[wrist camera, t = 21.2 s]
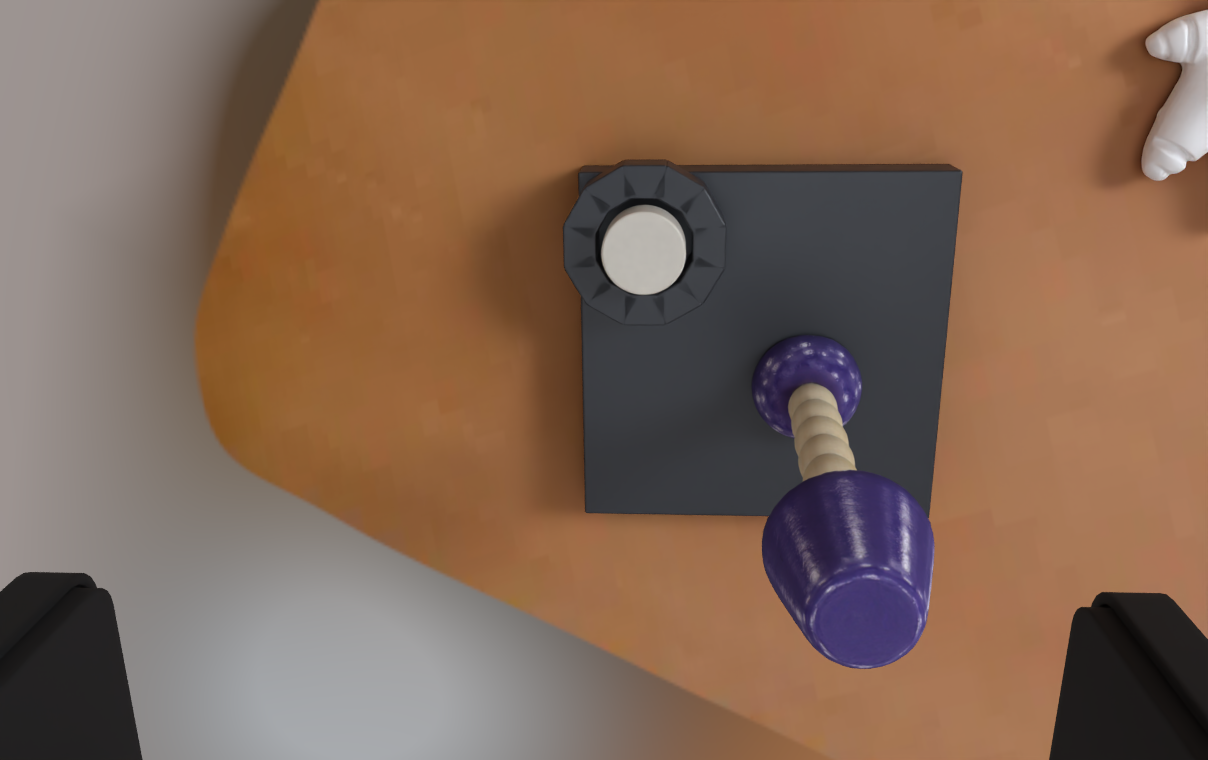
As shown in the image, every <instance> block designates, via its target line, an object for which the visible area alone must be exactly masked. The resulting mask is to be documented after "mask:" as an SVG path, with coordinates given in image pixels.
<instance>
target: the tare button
mask: <svg viewBox="0 0 1208 760" xmlns="http://www.w3.org/2000/svg"><path fill="white" fill-rule="evenodd" d="M601 258H602V263H603V267H604V269H605V271H606V273H607V275H608V276H609V278H610V279H611V280H612V281H613V283H615V284H616V285H617V286H618V287H620V288H621V289H623V290H625V291H627V292H630V293H633V294H638V295H650V294H655V293H658V292H661V291H663V290H665V289H666V288H668V287H669V286H671V285H672V284H673V283H674V282H675V281H676V280H677V278H678V277H679V276H680V274H681V272H682V270H683V268H684V265H685V260H686V241H685V235H684V232H683V230H682V228H681V225H680V224H679V222H678V221H677V220H676V219H675V218H674V216H672V215H671V214H670V213H669V212H667V211H666V210H664V209H662V208H659V207H656V206H652V205H637V206H633V207H630V208H628V209H626V210H624V211H622V212H621V213H619V214H618V215H617V216H616V217H615V218H614V219H613V220H612V221H611V223H610V224H609V226H608V228H607V230H606V233H605V236H604V240H603V243H602V248H601Z"/></svg>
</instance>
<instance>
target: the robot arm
mask: <svg viewBox="0 0 1208 760" xmlns="http://www.w3.org/2000/svg"><path fill="white" fill-rule="evenodd" d="M0 760H142V755H141V750H140V745H139V739H138V734H137V728H136V724H135V718H134V713H133V707H132V702H131V696H130V691H129V685H128V680H127V675H126V670H125V664H124V659H123V653H122V648H121V643H120V637H119V632H118V627H117V621H116V616H115V610H114V605H113V601H112V598H111V596H110V594H109V593H108V591H107V590H105V589H103V588H97V587H96V584H95V582H94V581H93V579H92V578H91V577H90V576H88V575H87V574H85V573H49V572H46V573H45V572H28V573H23V574H21V575H20V576H18V577H16V578H15V579H14V580H13V581H12V582H11V583H10V584H8V585H7V586H6V587H5V588H4V589H3V590H2V591H1V592H0ZM1049 760H1208V639H1207V638H1206V637H1205V636H1204V635H1203V634H1202V632H1201V631H1200V630H1199V629H1198V628H1197V627H1196V625H1195V624H1194V623H1193V622H1192V621H1191V620H1190V619H1189V617H1188V616H1187V615H1186V614H1185V613H1184V612H1183V611H1182V609H1181V608H1180V607H1179V606H1178V605H1177V604H1176V603H1175V601H1174V600H1173V599H1171V598H1170V597H1169V596H1168V595H1166V594H1161V593H1118V592H1102V593H1100V594H1098V595H1097V596H1096V597H1095V599H1094V601H1093V603H1092V606H1091V607H1080V608H1079V609H1077V611H1076V612H1075V614H1074V617H1073V621H1072V625H1071V631H1070V637H1069V643H1068V649H1067V655H1066V662H1065V668H1064V674H1063V680H1062V686H1061V692H1060V698H1059V704H1058V710H1057V716H1056V722H1055V728H1054V734H1053V740H1052V746H1051V752H1050V758H1049Z"/></svg>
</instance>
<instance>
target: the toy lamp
mask: <svg viewBox="0 0 1208 760" xmlns="http://www.w3.org/2000/svg"><path fill="white" fill-rule="evenodd" d="M861 393H862V379H861V373H860V370H859V367H858V365H857V363H856V361H855V360H854V357H853V356H852V355H851V354H850V352H849V351H848V350H847V349H846V348H845V347H843V346H842V345H840V344H839V343H838V342H836V341H834V340H832V339H829V338H826V337H823V336H812V335H799V336H796V337H792V338H787V339H785V340H783V341H781V342H779V343H777V344H776V345H774V346H773V347H772V348H771V349H769V350H768V351H767V352H766V353H765V355H764V356H763V357H762V358H761V360H760V361H759V363H758V365H757V366H756V368H755V371H754V374H753V378H752V396H753V400H754V403H755V407H756V409H757V411H758V413H759V414H760V416H761V417H762V419H763V420H764V421H765V422H766V423H767V424H768V425H769V426H770V427H771V428H773V429H774V430H776V431H777V432H779V433H781V434H783V435H785V436H788V437H791V438H794V442H795V450H796V453H797V455H798V457H799V458H798V465H799V469H800V473H801V475H802V477H803V482H801V483H800V484H798V485H797V486H796V487H794V488H793V489H791V490H790V491H789V492H788V493H787V494H785V495H784V496H783V497H782V498H781V500H780V501H779V502H778V503H777V505H776V506H775V507H774V509H773V510H772V512H771V514H770V515H769V517H768V519H767V522H766V524H765V527H764V531H763V538H762V557H763V563H764V568H765V571H766V574H767V576H768V578H769V581H770V583H771V584H772V587H773V588H774V590H775V592H776V593H777V595H778V597H779V598H780V600H781V602H782V603H783V604H784V606H785V607H786V609H787V610H788V612H789V613H790V615H791V616H792V618H793V620H794V621H795V623H796V624H797V625H798V627H799V628H800V630H801V631H802V633H803V634H804V636H805V637H806V639H807V640H808V641H809V642H810V643H811V645H812V646H813V647H814V648H815V649H816V650H817V651H818V652H820V653H821V654H822V655H823V656H825V657H826V658H827V659H829V660H831V661H833V662H836V663H838V664H840V665H843V666H846V667H850V668H859V669H871V668H876V667H881V666H885V665H887V664H890V663H892V662H895V661H896V660H898V659H900V658H901V657H903V656H904V655H906V654H907V653H908V652H909V651H910V650H911V649H912V648H913V647H914V646H915V645H916V643H917V641H918V640H919V638H920V637H921V635H922V633H923V630H924V628H925V625H926V621H927V616H928V609H929V601H930V593H931V583H932V575H933V564H934V538H933V532H932V529H931V525H930V521H929V519H928V518H927V515H926V513H925V512H924V510H923V508H922V507H921V506H920V505H919V503H918V502H917V500H916V499H915V498H914V497H913V496H912V495H911V494H910V493H909V492H908V491H907V490H906V489H905V488H903V487H902V486H900V485H899V484H897V483H895V482H894V481H892V480H891V479H889V478H886V477H883V476H881V475H878V474H874V473H871V472H867V471H862V470H857V469H856V468H855V460H854V456H853V453H852V451H851V449H850V447H849V442H848V437H847V434H846V432H845V430H844V428H843V426H844V425H845V424H846V423H847V422H848V421H849V420H850V419H851V417H852V416H853V414H854V413H855V411H856V409H857V406H858V404H859V402H860V398H861Z"/></svg>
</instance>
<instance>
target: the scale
mask: <svg viewBox="0 0 1208 760" xmlns="http://www.w3.org/2000/svg"><path fill="white" fill-rule="evenodd" d="M961 183H962V171H961V170H959V169H957V168H956V167H954V166H952V165H950V164H833V165H675V164H674V163H672V162H670V161H668V160H624V161H621V162H619V163H618V164H616V165H611V166H583V167H582V168H581V170H580V171H579V173H578V185H579V197H578V199H577V201H576V203H575V205H574V206H573V208H572V210H571V212H570V214H569V215H568V217H567V219H566V221H565V223H564V226H563V248H564V268H565V271H566V272H567V274H568V276H569V277H570V279H571V281H572V282H573V284H574V286H575V287H576V289H577V290H578V292H579V294H580V295H581V332H582V381H583V429H584V478H585V512H586V513H616V514H675V515H735V516H769V515H770V514H771V512H772V510H773V509H774V507H775V506H776V505H777V503H778V502H779V501H780V500H781V498H782V497H783V496H784V495H785V494H787V493H788V492H789V491H790V490H791V489H793V488H794V487H796V486H797V485H798V484H800V483H801V482H803V477H802V475H801V473H800V469H799V465H798V458H799V457H798V455H797V453H796V450H795V442H794V438H791V437H788V436H785V435H783V434H781V433H779V432H777V431H776V430H774V429H773V428H771V427H770V426H769V425H768V424H767V423H766V422H765V421H764V420H763V419H762V417H761V416H760V414H759V413H758V411H757V409H756V407H755V403H754V400H753V396H752V378H753V374H754V371H755V368H756V366H757V365H758V363H759V361H760V360H761V358H762V357H763V356H764V355H765V353H766V352H767V351H768V350H769V349H771V348H772V347H773V346H774V345H776V344H777V343H779V342H781V341H783V340H785V339H787V338H792V337H796V336H799V335H812V336H823V337H826V338H829V339H832V340H834V341H836V342H838V343H839V344H840V345H842V346H843V347H845V348H846V349H847V350H848V351H849V352H850V354H851V355H852V356H853V357H854V360H855V361H856V363H857V365H858V367H859V370H860V373H861V379H862V393H861V398H860V402H859V404H858V406H857V409H856V411H855V413H854V414H853V416H852V417H851V419H850V420H849V421H848V422H847V423H846V424H845V425H844V426H843V428H844V430H845V432H846V434H847V437H848V442H849V447H850V449H851V451H852V453H853V456H854V460H855V468H856V469H857V470H862V471H867V472H871V473H874V474H878V475H881V476H883V477H886V478H889V479H891V480H892V481H894V482H895V483H897V484H899V485H900V486H902V487H903V488H905V489H906V490H907V491H908V492H909V493H910V494H911V495H912V496H913V497H914V498H915V499H916V500H917V502H918V503H919V505H920V506H921V507H922V508H923V510H924V512H925V513H926V515H927V518H929V512H930V502H931V492H932V482H933V471H934V461H935V451H936V440H937V430H938V420H939V409H940V399H941V389H942V379H943V368H944V358H945V348H946V337H947V327H948V317H949V306H950V296H951V286H952V275H953V265H954V255H955V245H956V234H957V224H958V214H959V203H960V193H961ZM637 205H652V206H656V207H659V208H662V209H664V210H666V211H667V212H669V213H670V214H671V215H672V216H674V218H675V219H676V220H677V221H678V222H679V224H680V225H681V228H682V230H683V232H684V235H685V241H686V260H685V265H684V268H683V270H682V272H681V274H680V276H679V277H678V278H677V280H676V281H675V282H674V283H673V284H672V285H671V286H669V287H668V288H666V289H665V290H663V291H661V292H658V293H655V294H650V295H638V294H633V293H630V292H627V291H625V290H623V289H621V288H620V287H618V286H617V285H616V284H615V283H613V281H612V280H611V279H610V278H609V276H608V275H607V273H606V271H605V269H604V267H603V263H602V258H601V248H602V243H603V240H604V236H605V233H606V230H607V228H608V226H609V224H610V223H611V221H612V220H613V219H614V218H615V217H616V216H617V215H618V214H619V213H621V212H622V211H624V210H626V209H628V208H630V207H633V206H637Z"/></svg>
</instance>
